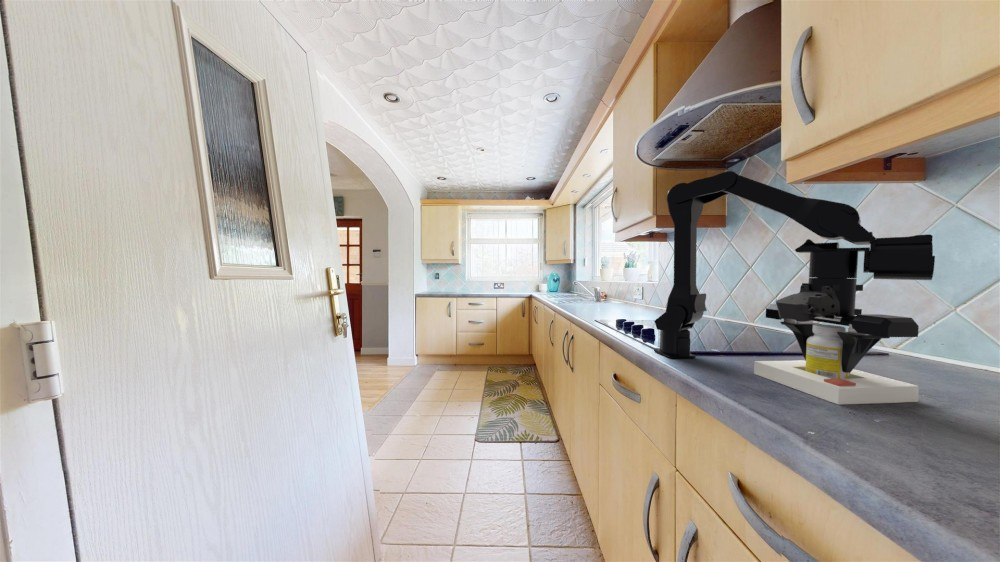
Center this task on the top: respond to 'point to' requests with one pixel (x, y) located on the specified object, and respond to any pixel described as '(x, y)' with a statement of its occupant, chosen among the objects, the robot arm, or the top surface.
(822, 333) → the supplement bottle
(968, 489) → the top surface
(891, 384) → the socket plate
